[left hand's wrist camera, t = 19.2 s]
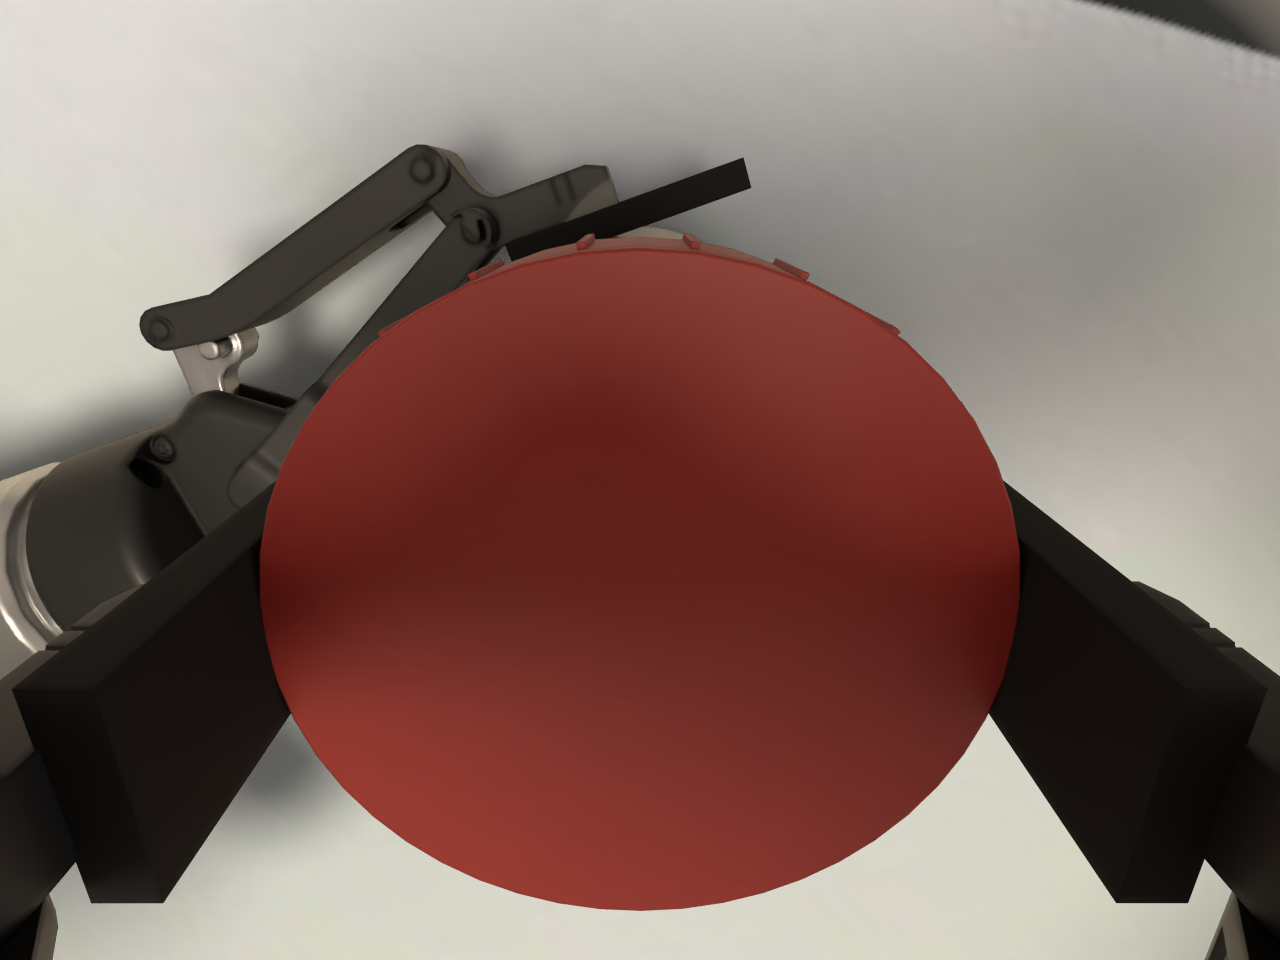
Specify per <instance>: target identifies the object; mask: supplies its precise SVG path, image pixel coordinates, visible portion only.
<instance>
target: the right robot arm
mask: <svg viewBox="0 0 1280 960" xmlns="http://www.w3.org/2000/svg"><path fill="white" fill-rule="evenodd" d="M749 188H751V185H750V181H749V177H748V173H747V170H746V166H745V162H744V158H741V159H738V160H735V161H732V162H730V163H727V164H724V165H721V166H719V167H716V168H713V169H710V170H708V171H705V172H702V173H699V174H697V175H694V176H691V177H688V178H685V179H683V180H680V181H677V182H674V183H672V184H669V185H666V186H663V187H661V188H658V189H655V190H652V191H650V192H647V193H644V194H641V195H639V196H636V197H633V198H630V199H628V200H625V201H622V202H619V200H618V197H617V194H616V191H615V188H614V185H613V182H612V179H611V176H610V173H609V169H608V167H606V166H597V165H583V166H581V167H578V168H575V169H573V170H570V171H567V172H565V173H562V174H559V175H556V176H554V177H551V178H549V179H546V180H543V181H540V182H538V183H535V184H532V185H530V186H527V187H524V188H521V189H519V190H516V191H513V192H511V193H508V194H505V195H502V196H495V195H492V194H490V193H488V192H487V191H485V190H484V189H483V188H482V187H481V186H480V185H479V184H478V182H477V181H476V180H475V179H474V178H473V176H472V175H471V174H470V173H469V171H468V170H467V169H466V167H465V165H464V162H463V160H462V159H461V158H460V157H459V156H458V155H457V154H456V153H453V152H451V151H449V150H445V149H441V148H437V147H433V146H428V145H414V146H412V147H410V148H408V149H406V150H405V151H404V152H402V153H401V154H400V155H398V156H397V157H396V158H394V159H393V160H392V161H390V162H389V163H387V164H386V165H385V166H383V167H382V168H381V169H379V170H378V171H377V172H375V173H374V174H372V175H371V176H370V177H368V178H367V179H366V180H364V181H363V182H362V183H360V184H359V185H358V186H356V187H355V188H353V189H352V190H351V191H349V192H348V193H347V194H345V195H344V196H343V197H341V198H340V199H339V200H337V201H336V202H334V203H333V204H332V205H330V206H329V207H328V208H326V209H325V210H324V211H322V212H321V213H320V214H318V215H317V216H315V217H314V218H313V219H311V220H310V221H309V222H307V223H306V224H305V225H303V226H302V227H300V228H299V229H298V230H296V231H295V232H294V233H292V234H291V235H290V236H288V237H287V238H286V239H284V240H283V241H281V242H280V243H279V244H277V245H276V246H275V247H273V248H272V249H271V250H269V251H268V252H267V253H265V254H264V255H262V256H261V257H260V258H258V259H257V260H256V261H254V262H253V263H252V264H250V265H249V266H248V267H246V268H245V269H243V270H242V271H241V272H239V273H238V274H237V275H235V276H234V277H233V278H231V279H230V280H228V281H227V282H226V283H224V284H223V285H222V286H220V287H219V288H218V289H216V290H215V291H214V292H212V293H211V294H209V295H205V296H200V297H196V298H192V299H187V300H183V301H179V302H174V303H170V304H166V305H161V306H157V307H153V308H150V309H148V310H146V311H145V312H144V313H143V315H142V316H141V318H140V324H139V326H140V330H141V334H142V335H143V337H144V338H145V340H146V341H147V342H148V343H149V344H150V345H152V346H153V347H154V348H157V349H160V350H163V351H169V350H173V352H174V354H175V356H176V359H177V361H178V363H179V365H180V368H181V370H182V372H183V374H184V377H185V379H186V381H187V383H188V386H189V388H190V390H191V392H192V395H193V398H192V399H191V400H190V401H189V402H188V403H187V404H186V405H185V407H184V408H183V410H182V411H181V413H180V414H179V415H178V416H177V417H176V418H175V419H174V420H171V421H169V422H166V423H163V424H160V425H157V426H155V427H152V428H149V429H146V430H143V431H140V432H138V433H135V434H132V435H129V436H126V437H123V438H121V439H118V440H115V441H112V442H109V443H107V444H104V445H101V446H98V447H95V448H92V449H90V450H87V451H84V452H81V453H78V454H76V455H73V456H71V457H69V458H67V459H66V460H64V461H62V462H54V463H50V464H47V465H44V466H41V467H39V468H36V469H33V470H30V471H27V472H24V473H22V474H19V475H16V476H13V477H10V478H7V479H5V480H2V481H0V680H1V679H2V678H3V677H5V676H6V675H7V674H9V673H10V672H11V671H13V670H14V669H15V668H17V667H18V666H19V665H20V664H22V663H23V662H24V661H26V660H27V659H28V658H30V657H31V656H32V655H34V654H35V653H36V652H38V651H44V650H45V648H46V647H45V646H46V645H47V644H48V643H49V642H51V641H52V640H53V639H55V638H56V637H57V636H59V635H60V634H61V633H63V632H64V631H70V630H71V626H72V625H73V624H75V623H76V622H77V621H78V620H80V619H81V618H82V617H84V616H85V615H86V614H88V613H89V612H90V611H92V610H93V609H94V608H96V607H97V606H98V605H100V604H101V603H103V602H105V601H107V600H109V599H111V598H113V597H116V596H118V595H120V594H122V593H124V592H126V591H128V590H130V589H132V588H134V587H136V586H139V585H141V584H145V583H147V582H148V581H149V580H150V579H152V578H153V577H154V576H155V575H157V574H158V573H159V572H161V571H162V570H163V569H164V568H166V567H167V566H168V565H169V564H171V563H172V562H173V561H175V560H176V559H177V558H178V557H180V556H181V555H182V554H183V553H185V552H186V551H187V550H189V549H190V548H191V547H192V546H194V545H195V544H196V543H197V542H199V541H200V540H201V539H203V538H204V537H205V536H206V535H208V534H209V533H210V532H211V531H213V530H214V529H215V528H217V527H218V526H219V525H220V524H222V523H223V522H224V521H225V520H227V519H228V518H229V517H230V516H232V515H233V514H234V513H236V512H237V511H238V510H239V509H241V508H242V507H243V506H244V505H246V504H247V503H248V502H250V501H251V500H252V499H253V498H255V497H256V496H257V495H258V494H260V493H261V492H262V491H264V490H265V489H266V488H267V487H269V486H270V485H271V484H272V483H274V482H275V481H276V480H277V478H278V475H279V472H280V469H281V466H282V464H283V462H284V460H285V458H286V456H287V454H288V452H289V450H290V448H291V446H292V444H293V442H294V440H295V438H296V437H297V435H298V433H299V431H300V429H301V427H302V425H303V423H304V421H305V420H306V418H307V417H308V416H309V414H310V413H311V412H312V410H313V409H314V407H315V405H316V404H317V403H318V402H319V401H320V399H321V398H322V397H323V395H324V394H325V393H326V391H327V390H328V389H329V387H330V386H331V384H332V383H333V382H334V380H335V379H336V378H337V377H338V376H339V375H340V374H341V373H342V372H343V371H344V370H345V369H346V368H347V367H348V366H349V365H350V364H351V363H352V362H353V361H354V360H355V359H356V358H357V357H358V356H359V355H360V354H361V353H362V352H363V351H364V350H365V349H366V348H367V347H368V346H369V345H370V344H371V343H373V342H374V341H375V340H377V339H378V338H380V336H379V335H378V332H379V331H380V330H382V329H383V328H385V327H386V326H388V325H390V324H392V323H394V322H396V321H398V320H400V319H402V318H404V317H406V316H408V315H410V314H411V313H413V312H415V311H416V310H418V309H420V308H422V307H424V306H426V305H428V304H429V303H431V302H433V301H435V300H437V299H439V298H441V297H443V296H444V295H446V294H448V293H450V292H452V291H454V290H456V289H457V288H459V287H461V286H463V285H465V284H467V283H469V282H471V281H470V279H469V277H468V274H470V273H472V272H474V271H477V270H479V269H481V268H483V267H485V266H487V265H488V264H489V262H490V261H491V260H492V259H493V258H494V257H495V256H496V254H497V253H498V252H499V251H500V250H501V249H502V247H503V246H506V248H507V251H508V253H509V256H510V259H511V261H512V262H513V261H516V260H518V259H521V258H524V257H527V256H529V255H532V254H535V253H538V252H540V251H543V250H546V249H551V248H556V247H560V246H565V245H570V244H574V243H576V242H578V241H579V240H580V239H582V238H583V237H584V236H586V235H587V234H594V236H595V240H596V239H609V238H612V237H615V236H618V235H621V234H623V233H626V232H629V231H632V230H635V229H637V228H640V227H643V226H646V225H649V224H651V223H654V222H657V221H660V220H663V219H665V218H668V217H671V216H674V215H677V214H679V213H682V212H685V211H688V210H691V209H693V208H696V207H699V206H702V205H705V204H707V203H710V202H713V201H716V200H719V199H721V198H724V197H727V196H730V195H733V194H735V193H738V192H741V191H744V190H747V189H749ZM432 210H433V211H434V213H435V214H436V215H437V216H438V217H439V218H440V220H441V221H442V222H443V223H444V224H445V226H446V227H445V228H444V230H443V231H442V232H441V233H440V234H439V236H438V237H437V238H436V239H435V241H434V242H433V243H432V244H431V245H430V247H429V248H428V249H427V250H426V251H425V253H424V254H423V255H422V256H421V257H420V259H419V260H418V261H417V262H416V263H415V265H414V266H413V267H412V268H411V269H410V271H409V272H408V273H407V274H406V275H405V277H404V278H403V279H402V280H401V281H400V283H399V284H398V285H397V286H396V287H395V289H394V290H393V291H392V292H391V293H390V295H389V296H388V297H387V298H386V299H385V301H384V302H383V303H382V304H381V305H380V307H379V308H378V309H377V310H376V311H375V313H374V314H373V315H372V316H371V317H370V319H369V320H368V321H367V322H366V323H365V325H364V326H363V327H362V328H361V329H360V331H359V332H358V333H357V334H356V335H355V337H354V338H353V339H352V340H351V341H350V343H349V344H348V345H347V346H346V347H345V349H344V350H343V351H342V352H341V353H340V355H339V356H338V357H337V358H336V359H335V361H334V362H333V363H332V364H331V365H330V367H329V368H328V369H327V370H326V371H325V373H324V374H323V375H322V376H321V377H320V378H319V380H318V381H317V382H315V383H314V384H313V385H312V386H311V387H310V388H309V389H308V390H307V391H306V392H305V393H304V394H303V395H302V396H301V397H300V398H299V399H296V398H293V397H289V396H286V395H282V394H279V393H275V392H272V391H269V390H265V389H262V388H258V387H255V386H251V385H248V384H244V383H240V382H239V379H238V369H239V366H240V364H241V363H242V362H243V361H244V360H245V359H247V358H249V357H251V356H252V355H253V354H254V353H255V352H256V350H257V347H258V340H259V333H258V331H257V330H256V329H255V328H254V327H257V326H260V325H263V324H266V323H268V322H271V321H273V320H275V319H277V318H280V317H281V316H283V315H285V314H286V313H288V312H290V311H291V310H293V309H294V308H296V307H297V306H298V305H300V304H301V303H303V302H304V301H305V300H307V299H308V298H310V297H311V296H312V295H314V294H315V293H317V292H318V291H319V290H321V289H322V288H324V287H325V286H327V285H328V284H329V283H331V282H332V281H334V280H335V279H336V278H338V277H339V276H341V275H342V274H343V273H345V272H346V271H348V270H349V269H350V268H352V267H353V266H355V265H356V264H358V263H359V262H360V261H362V260H363V259H365V258H366V257H367V256H369V255H370V254H372V253H373V252H374V251H376V250H377V249H379V248H380V247H381V246H383V245H384V244H386V243H387V242H389V241H390V240H391V239H393V238H394V237H396V236H397V235H398V234H400V233H401V232H403V231H404V230H405V229H407V228H408V227H410V226H411V225H412V224H414V223H415V222H417V221H418V220H420V219H421V218H422V217H424V216H425V215H427V214H428V213H429V212H431V211H432Z"/></svg>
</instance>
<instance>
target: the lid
mask: <svg viewBox="0 0 1280 960" xmlns="http://www.w3.org/2000/svg"><path fill="white" fill-rule="evenodd" d="M468 277H469V279H470V281H471V282H469V283H467V284H465V285H463V286H461V287H459V288H457V289H456V290H454V291H452V292H450V293H448V294H446V295H444V296H443V297H441V298H439V299H437V300H435V301H433V302H431V303H429V304H428V305H426V306H424V307H422V308H420V309H418V310H416V311H415V312H413V313H411V314H410V315H408V316H406V317H404V318H402V319H400V320H398V321H396V322H394V323H392V324H390V325H388V326H386V327H385V328H383V329H382V330H380V331H379V332H378V335H379V336H380V338H378V339H377V340H375V341H374V342H373V343H371V344H370V345H369V346H368V347H367V348H366V349H365V350H364V351H363V352H362V353H361V354H360V355H359V356H358V357H357V358H356V359H355V360H354V361H353V362H352V363H351V364H350V365H349V366H348V367H347V368H346V369H345V370H344V371H343V372H342V373H341V374H340V375H339V376H338V377H337V378H336V379H335V380H334V382H333V383H332V384H331V386H330V387H329V389H328V390H327V391H326V393H325V394H324V395H323V397H322V398H321V399H320V401H319V402H318V403H317V404H316V405H315V407H314V409H313V410H312V412H311V413H310V414H309V416H308V417H307V418H306V420H305V421H304V423H303V425H302V427H301V429H300V431H299V433H298V435H297V437H296V438H295V440H294V442H293V444H292V446H291V448H290V450H289V452H288V454H287V456H286V458H285V460H284V462H283V464H282V466H281V469H280V472H279V475H278V478H277V481H276V484H275V487H274V490H273V493H272V496H271V499H270V502H269V505H268V508H267V513H266V519H265V525H264V531H263V537H262V543H261V549H260V560H259V602H260V609H261V614H262V620H263V625H264V630H265V635H266V640H267V644H268V649H269V653H270V657H271V661H272V666H273V670H274V673H275V677H276V680H277V683H278V685H279V687H280V690H281V692H282V694H283V696H284V698H285V701H286V703H287V705H288V707H289V709H290V711H291V714H292V716H293V718H294V720H295V722H296V724H297V725H298V727H299V728H300V730H301V731H302V733H303V735H304V736H305V738H306V739H307V741H308V743H309V744H310V746H311V747H312V749H313V751H314V752H315V754H316V755H317V757H318V758H319V759H320V760H321V762H322V763H323V764H324V765H325V766H326V768H327V769H328V770H329V771H330V772H331V774H332V775H333V776H334V777H335V779H336V780H337V781H338V782H339V783H340V785H341V786H342V787H343V788H344V789H345V790H346V791H347V792H348V793H349V794H350V795H351V796H352V797H353V798H354V799H355V800H356V801H357V802H359V803H360V804H361V805H362V806H363V807H364V808H365V809H366V810H367V811H368V812H369V813H370V814H371V815H372V816H373V817H375V818H376V819H377V820H378V821H380V822H381V823H382V824H384V825H385V826H386V827H388V828H389V829H390V830H392V831H393V832H394V833H396V834H397V835H398V836H400V837H401V838H402V839H404V840H405V841H406V842H408V843H410V844H411V845H413V846H415V847H416V848H418V849H420V850H421V851H423V852H425V853H426V854H428V855H430V856H431V857H433V858H435V859H436V860H438V861H440V862H441V863H444V864H446V865H448V866H450V867H452V868H454V869H456V870H459V871H461V872H463V873H465V874H467V875H469V876H472V877H474V878H476V879H478V880H481V881H483V882H486V883H489V884H492V885H495V886H498V887H501V888H504V889H507V890H509V891H512V892H515V893H518V894H522V895H526V896H531V897H535V898H539V899H543V900H547V901H551V902H556V903H561V904H568V905H575V906H582V907H589V908H596V909H612V910H634V911H647V910H667V909H684V908H691V907H698V906H704V905H711V904H718V903H724V902H728V901H732V900H736V899H741V898H745V897H749V896H753V895H757V894H761V893H765V892H767V891H770V890H773V889H776V888H779V887H782V886H784V885H787V884H790V883H793V882H796V881H799V880H801V879H804V878H806V877H808V876H810V875H812V874H814V873H817V872H819V871H821V870H823V869H825V868H827V867H829V866H831V865H834V864H836V863H838V862H840V861H842V860H843V859H845V858H847V857H848V856H850V855H851V854H853V853H855V852H856V851H858V850H860V849H861V848H863V847H865V846H866V845H868V844H870V843H871V842H873V841H875V840H876V839H877V838H879V837H880V836H881V835H883V834H884V833H885V832H886V831H888V830H889V829H890V828H892V827H893V826H894V825H896V824H897V823H898V822H900V821H901V820H902V819H903V818H905V817H906V816H907V815H909V814H910V813H911V812H912V811H913V810H914V809H915V808H916V807H917V806H918V805H919V804H920V803H921V802H922V801H923V800H924V799H925V798H926V797H927V796H928V795H929V794H930V793H931V792H932V791H933V790H934V789H936V788H937V787H938V785H939V784H940V783H941V782H942V780H943V779H944V778H945V777H946V776H947V774H948V773H949V772H950V771H951V769H952V768H953V767H954V766H955V764H956V763H957V762H958V761H959V760H960V758H961V757H962V756H963V755H964V753H965V752H966V750H967V748H968V747H969V745H970V743H971V742H972V740H973V739H974V737H975V735H976V734H977V732H978V731H979V729H980V727H981V726H982V724H983V723H984V721H985V719H986V717H987V715H988V713H989V711H990V708H991V706H992V704H993V702H994V699H995V697H996V695H997V693H998V691H999V688H1000V686H1001V684H1002V682H1003V679H1004V675H1005V672H1006V667H1007V663H1008V659H1009V655H1010V650H1011V646H1012V642H1013V637H1014V632H1015V627H1016V622H1017V616H1018V611H1019V605H1020V597H1021V595H1020V551H1019V545H1018V539H1017V533H1016V528H1015V522H1014V516H1013V510H1012V506H1011V503H1010V500H1009V497H1008V494H1007V491H1006V488H1005V485H1004V482H1003V479H1002V476H1001V474H1000V471H999V468H998V465H997V462H996V460H995V458H994V456H993V454H992V453H991V451H990V449H989V447H988V445H987V443H986V441H985V439H984V437H983V436H982V434H981V432H980V430H979V428H978V426H977V424H976V422H975V420H974V419H973V417H972V416H971V415H970V413H969V412H968V411H967V409H966V408H965V406H964V405H963V403H962V402H961V401H960V400H959V399H958V397H957V396H956V395H955V393H954V392H953V391H952V389H951V388H950V387H949V385H948V384H947V383H946V381H945V380H944V379H943V378H942V377H941V376H940V375H939V374H938V373H937V372H936V371H935V370H934V369H933V368H932V367H931V366H930V365H929V364H928V363H927V362H926V361H925V360H924V359H923V358H922V357H921V356H920V355H919V354H918V353H917V352H916V351H915V350H914V349H913V348H912V347H911V346H910V345H909V344H908V343H907V342H906V341H904V340H903V339H902V338H900V337H899V336H898V334H899V333H900V331H899V330H898V329H897V328H896V327H894V326H892V325H890V324H888V323H886V322H885V321H883V320H881V319H879V318H877V317H875V316H873V315H871V314H869V313H867V312H865V311H863V310H862V309H860V308H858V307H856V306H854V305H852V304H850V303H849V302H847V301H845V300H843V299H841V298H839V297H837V296H835V295H833V294H831V293H829V292H828V291H826V290H824V289H822V288H820V287H818V286H816V285H814V284H812V283H810V282H808V281H807V279H808V277H809V273H807V272H805V271H803V270H801V269H799V268H796V267H794V266H792V265H790V264H788V263H786V262H783V261H781V260H779V259H777V258H776V259H775V261H774V263H773V264H772V263H770V262H767V261H764V260H761V259H758V258H756V257H753V256H750V255H747V254H744V253H742V252H739V251H736V250H733V249H729V248H724V247H720V246H715V245H710V244H705V243H701V242H700V241H698V240H697V239H696V238H695V237H693V236H692V235H691V234H685V233H684V234H683V239H670V238H655V237H640V236H638V237H624V238H610V239H596V240H595V236H594V234H587V235H586V236H584V237H583V238H582V239H580V240H579V241H578V242H576V243H574V244H570V245H565V246H560V247H556V248H551V249H546V250H543V251H540V252H538V253H535V254H532V255H529V256H527V257H524V258H521V259H518V260H516V261H513V262H510V263H507V264H505V265H504V263H503V260H502V259H500V260H498V261H496V262H494V263H492V264H490V265H487V266H485V267H483V268H481V269H479V270H477V271H474V272H472V273H470V274H468Z"/></svg>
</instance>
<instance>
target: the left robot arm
mask: <svg viewBox="0 0 1280 960" xmlns="http://www.w3.org/2000/svg"><path fill="white" fill-rule="evenodd" d="M276 481H277V480H276ZM276 481H275V482H274V483H272V484H271V485H270V486H269V487H267V488H266V489H265V490H264V491H262V492H261V493H260V494H258V495H257V496H256V497H255V498H253V499H252V500H251V501H250V502H248V503H247V504H246V505H244V506H243V507H242V508H241V509H239V510H238V511H237V512H236V513H234V514H233V515H232V516H230V517H229V518H228V519H227V520H225V521H224V522H223V523H222V524H220V525H219V526H218V527H217V528H215V529H214V530H213V531H211V532H210V533H209V534H208V535H206V536H205V537H204V538H203V539H201V540H200V541H199V542H197V543H196V544H195V545H194V546H192V547H191V548H190V549H189V550H187V551H186V552H185V553H183V554H182V555H181V556H180V557H178V558H177V559H176V560H175V561H173V562H172V563H171V564H169V565H168V566H167V567H166V568H164V569H163V570H162V571H161V572H159V573H158V574H157V575H155V576H154V577H153V578H152V579H150V580H149V581H148V582H147V583H145V584H141V585H139V586H136V587H134V588H132V589H130V590H128V591H126V592H124V593H122V594H120V595H118V596H116V597H113V598H111V599H109V600H107V601H105V602H103V603H101V604H100V605H98V606H97V607H96V608H94V609H93V610H92V611H90V612H89V613H88V614H86V615H85V616H84V617H82V618H81V619H80V620H78V621H77V622H76V623H75V624H73V625H72V626H71V630H70V631H64V632H63V633H61V634H60V635H59V636H57V637H56V638H55V639H53V640H52V641H51V642H49V643H48V644H47V645H46V646H45V647H46V648H45V650H44V651H38V652H36V653H35V654H34V655H32V656H31V657H30V658H28V659H27V660H26V661H24V662H23V663H22V664H20V665H19V666H18V667H17V668H15V669H14V670H13V671H11V672H10V673H9V674H7V675H6V676H5V677H3V678H2V679H1V680H0V960H52V959H53V953H54V947H55V941H56V935H57V929H58V923H57V916H56V910H55V908H54V905H53V903H52V900H51V898H50V895H49V893H50V892H51V891H52V889H53V888H54V887H55V886H56V885H57V883H58V882H59V881H60V880H61V879H62V878H63V876H64V875H65V874H66V873H67V872H68V870H69V869H70V868H71V867H72V866H73V865H74V863H75V862H76V863H77V866H78V869H79V871H80V874H81V877H82V879H83V882H84V885H85V887H86V890H87V893H88V895H89V898H90V901H91V903H164V901H165V900H166V898H167V897H168V895H169V894H170V892H171V891H172V889H173V888H174V886H175V885H176V883H177V882H178V880H179V879H180V877H181V876H182V874H183V873H184V871H185V870H186V868H187V867H188V866H189V864H190V863H191V861H192V860H193V858H194V857H195V855H196V854H197V852H198V851H199V849H200V848H201V846H202V845H203V843H204V842H205V840H206V839H207V837H208V836H209V834H210V833H211V831H212V830H213V828H214V827H215V825H216V824H217V822H218V821H219V819H220V818H221V816H222V815H223V813H224V812H225V810H226V809H227V807H228V806H229V805H230V803H231V802H232V800H233V799H234V797H235V796H236V794H237V793H238V791H239V790H240V788H241V787H242V785H243V784H244V782H245V781H246V779H247V778H248V776H249V775H250V773H251V772H252V770H253V769H254V767H255V766H256V764H257V763H258V761H259V760H260V758H261V757H262V755H263V754H264V752H265V751H266V749H267V748H268V747H269V745H270V744H271V742H272V741H273V739H274V738H275V736H276V735H277V733H278V732H279V730H280V729H281V727H282V726H283V724H284V723H285V721H286V720H287V718H288V717H289V715H290V714H291V711H290V709H289V707H288V705H287V703H286V701H285V698H284V696H283V694H282V692H281V690H280V687H279V685H278V683H277V680H276V677H275V673H274V670H273V666H272V661H271V657H270V653H269V649H268V644H267V640H266V635H265V630H264V625H263V620H262V614H261V609H260V602H259V560H260V549H261V543H262V537H263V531H264V525H265V519H266V513H267V508H268V505H269V502H270V499H271V496H272V493H273V490H274V487H275V484H276ZM1003 482H1004V485H1005V488H1006V491H1007V494H1008V497H1009V500H1010V503H1011V506H1012V510H1013V516H1014V522H1015V528H1016V533H1017V539H1018V545H1019V551H1020V595H1021V597H1020V605H1019V611H1018V616H1017V622H1016V627H1015V632H1014V637H1013V642H1012V646H1011V650H1010V655H1009V659H1008V663H1007V667H1006V672H1005V675H1004V679H1003V682H1002V684H1001V686H1000V688H999V691H998V693H997V695H996V697H995V699H994V702H993V704H992V706H991V708H990V711H989V714H990V716H991V717H992V719H993V720H994V722H995V723H996V725H997V726H998V728H999V729H1000V731H1001V732H1002V734H1003V735H1004V737H1005V738H1006V740H1007V741H1008V743H1009V744H1010V746H1011V747H1012V749H1013V750H1014V752H1015V753H1016V755H1017V756H1018V758H1019V759H1020V761H1021V762H1022V764H1023V765H1024V767H1025V768H1026V770H1027V771H1028V773H1029V774H1030V775H1031V777H1032V778H1033V780H1034V781H1035V783H1036V784H1037V786H1038V787H1039V789H1040V790H1041V792H1042V793H1043V795H1044V796H1045V798H1046V799H1047V801H1048V802H1049V804H1050V805H1051V807H1052V808H1053V810H1054V811H1055V813H1056V814H1057V816H1058V817H1059V819H1060V820H1061V822H1062V823H1063V825H1064V826H1065V828H1066V829H1067V831H1068V832H1069V834H1070V835H1071V836H1072V838H1073V839H1074V841H1075V842H1076V844H1077V845H1078V847H1079V848H1080V850H1081V851H1082V853H1083V854H1084V856H1085V857H1086V859H1087V860H1088V862H1089V863H1090V865H1091V866H1092V868H1093V869H1094V871H1095V872H1096V874H1097V875H1098V877H1099V878H1100V880H1101V881H1102V883H1103V884H1104V886H1105V887H1106V889H1107V890H1108V892H1109V893H1110V895H1111V896H1112V897H1113V899H1114V900H1115V902H1116V903H1188V902H1189V899H1190V896H1191V894H1192V891H1193V888H1194V886H1195V883H1196V880H1197V878H1198V875H1199V872H1200V870H1201V867H1202V864H1203V862H1204V859H1205V860H1206V861H1207V862H1208V863H1209V864H1210V866H1211V867H1212V868H1213V869H1214V870H1215V871H1216V873H1217V874H1218V875H1219V876H1220V877H1221V879H1222V880H1223V881H1224V882H1225V883H1226V884H1227V886H1228V887H1229V888H1230V889H1231V890H1232V893H1231V895H1230V898H1229V900H1228V903H1227V905H1226V908H1225V910H1224V913H1223V915H1222V918H1221V920H1220V923H1219V925H1218V928H1217V930H1216V933H1215V935H1214V938H1213V940H1212V943H1211V945H1210V948H1209V950H1208V953H1207V955H1206V958H1205V960H1280V676H1279V675H1277V674H1276V673H1275V672H1273V671H1272V670H1271V669H1269V668H1268V667H1267V666H1265V665H1264V664H1263V663H1261V662H1260V661H1259V660H1257V659H1256V658H1255V657H1253V656H1252V655H1251V654H1249V653H1248V652H1247V651H1245V650H1244V649H1243V648H1236V647H1235V642H1234V641H1232V640H1231V639H1230V638H1228V637H1227V636H1226V635H1224V634H1223V633H1222V632H1220V631H1219V630H1218V629H1216V628H1210V626H1209V624H1210V623H1208V622H1207V621H1206V620H1204V619H1203V618H1202V617H1200V616H1199V615H1198V614H1196V613H1195V612H1194V611H1192V610H1191V609H1190V608H1188V607H1187V606H1186V605H1184V604H1183V603H1182V602H1180V601H1179V600H1177V599H1175V598H1173V597H1170V596H1168V595H1166V594H1164V593H1162V592H1160V591H1158V590H1156V589H1154V588H1151V587H1149V586H1147V585H1145V584H1143V583H1141V582H1132V581H1130V580H1129V579H1128V578H1127V577H1125V576H1124V575H1123V574H1121V573H1120V572H1119V571H1118V570H1116V569H1115V568H1114V567H1113V566H1111V565H1110V564H1109V563H1107V562H1106V561H1105V560H1104V559H1102V558H1101V557H1100V556H1099V555H1097V554H1096V553H1095V552H1093V551H1092V550H1091V549H1090V548H1088V547H1087V546H1086V545H1085V544H1083V543H1082V542H1081V541H1079V540H1078V539H1077V538H1076V537H1074V536H1073V535H1072V534H1071V533H1069V532H1068V531H1067V530H1066V529H1064V528H1063V527H1062V526H1060V525H1059V524H1058V523H1057V522H1055V521H1054V520H1053V519H1052V518H1050V517H1049V516H1048V515H1046V514H1045V513H1044V512H1043V511H1041V510H1040V509H1039V508H1038V507H1036V506H1035V505H1034V504H1032V503H1031V502H1030V501H1029V500H1027V499H1026V498H1025V497H1024V496H1022V495H1021V494H1020V493H1018V492H1017V491H1016V490H1015V489H1013V488H1012V487H1011V486H1010V485H1008V484H1007V483H1006V482H1005V481H1003Z"/></svg>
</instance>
